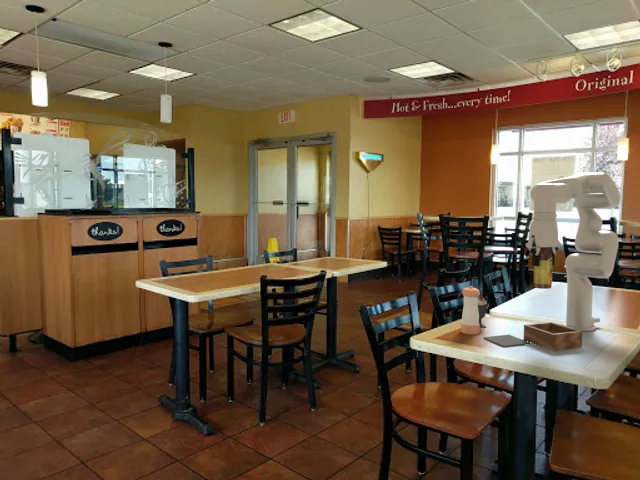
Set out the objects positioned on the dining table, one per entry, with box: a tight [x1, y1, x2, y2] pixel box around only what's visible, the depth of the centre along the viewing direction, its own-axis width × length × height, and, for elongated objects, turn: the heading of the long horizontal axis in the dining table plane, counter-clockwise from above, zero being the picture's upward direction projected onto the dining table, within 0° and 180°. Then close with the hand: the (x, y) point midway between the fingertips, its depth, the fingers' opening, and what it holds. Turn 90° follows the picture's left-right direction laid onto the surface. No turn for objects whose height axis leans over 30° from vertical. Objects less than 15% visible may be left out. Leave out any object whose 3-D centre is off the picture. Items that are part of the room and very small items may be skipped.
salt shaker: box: [460, 285, 481, 335], centre depth 197 cm, size 7×7×19 cm
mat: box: [482, 334, 532, 348], centre depth 184 cm, size 12×12×1 cm
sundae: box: [478, 292, 489, 329], centre depth 205 cm, size 7×7×15 cm
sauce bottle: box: [533, 247, 553, 290], centre depth 179 cm, size 6×6×20 cm
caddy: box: [523, 321, 583, 352], centre depth 180 cm, size 13×15×6 cm
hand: (543, 264), depth 179 cm, fingers closed on sauce bottle, 6 cm apart
